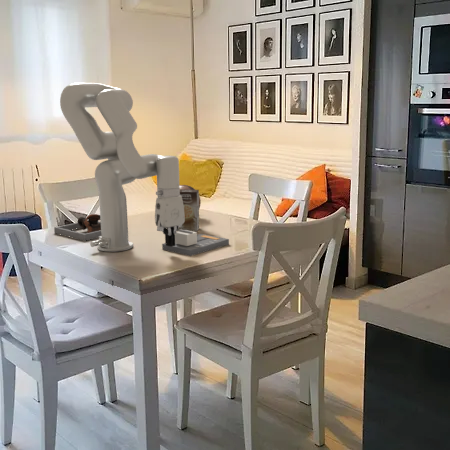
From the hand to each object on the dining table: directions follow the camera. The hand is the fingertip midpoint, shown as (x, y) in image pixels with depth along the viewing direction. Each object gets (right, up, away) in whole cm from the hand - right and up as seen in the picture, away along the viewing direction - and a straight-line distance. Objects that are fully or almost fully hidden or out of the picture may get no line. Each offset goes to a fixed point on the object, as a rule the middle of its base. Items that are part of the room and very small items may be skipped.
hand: (170, 245), depth 204 cm
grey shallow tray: (-36, +4, +33) cm, 49 cm away
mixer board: (+8, -1, +10) cm, 13 cm away
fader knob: (+5, +1, +6) cm, 8 cm away
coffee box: (+4, +5, +37) cm, 38 cm away
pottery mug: (-35, +4, +35) cm, 50 cm away
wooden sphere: (+1, +10, +58) cm, 59 cm away
